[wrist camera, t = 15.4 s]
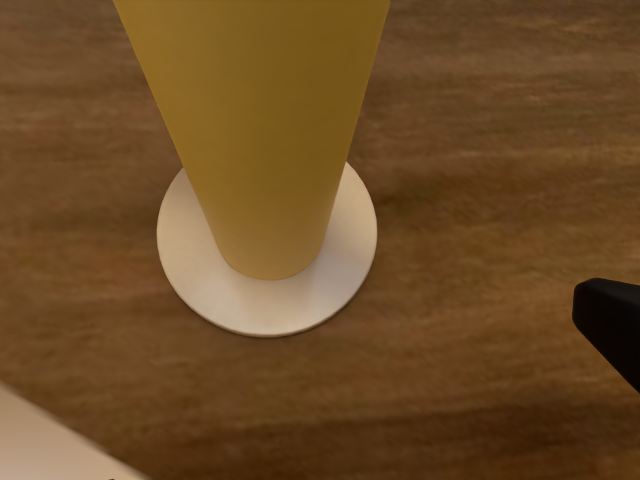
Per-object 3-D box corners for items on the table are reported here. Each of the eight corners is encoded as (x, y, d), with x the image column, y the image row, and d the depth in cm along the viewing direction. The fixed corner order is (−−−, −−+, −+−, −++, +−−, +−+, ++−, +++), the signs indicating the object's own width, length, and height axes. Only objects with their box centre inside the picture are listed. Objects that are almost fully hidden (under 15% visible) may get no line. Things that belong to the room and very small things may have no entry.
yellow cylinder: (343, 253, 16) (494, -85, 5) (240, 299, 15) (120, 18, 4) (297, 163, 17) (330, -291, 6) (198, 201, 16) (7, -247, 5)
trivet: (320, 377, 15) (322, 377, 15) (116, 277, 16) (110, 272, 15) (404, 189, 18) (408, 182, 17) (227, 108, 18) (225, 99, 18)
